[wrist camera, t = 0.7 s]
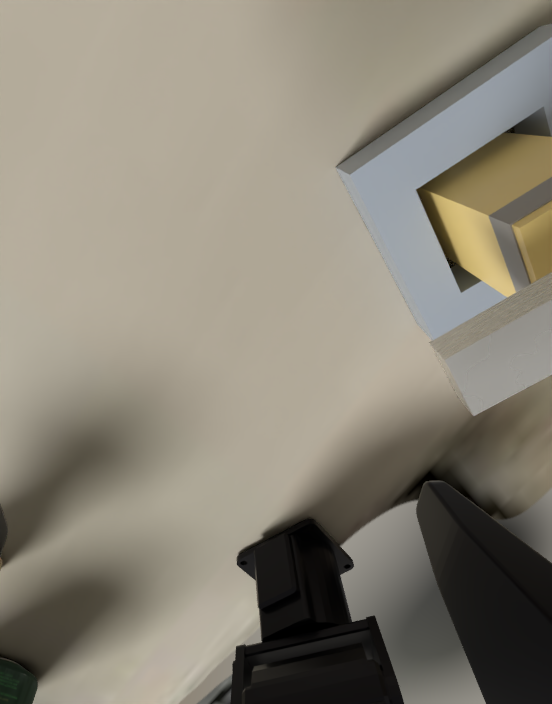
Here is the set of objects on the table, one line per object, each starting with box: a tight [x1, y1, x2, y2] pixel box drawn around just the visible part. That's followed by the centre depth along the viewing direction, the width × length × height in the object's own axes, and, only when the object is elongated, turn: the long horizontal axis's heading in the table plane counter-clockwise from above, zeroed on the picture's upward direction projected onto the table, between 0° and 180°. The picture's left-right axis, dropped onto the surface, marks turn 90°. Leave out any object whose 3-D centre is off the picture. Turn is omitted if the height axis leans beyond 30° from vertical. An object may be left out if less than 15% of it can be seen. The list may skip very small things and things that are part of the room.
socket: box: [336, 23, 552, 341], centre depth 19 cm, size 9×9×2 cm
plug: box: [416, 133, 552, 297], centre depth 17 cm, size 4×4×8 cm
